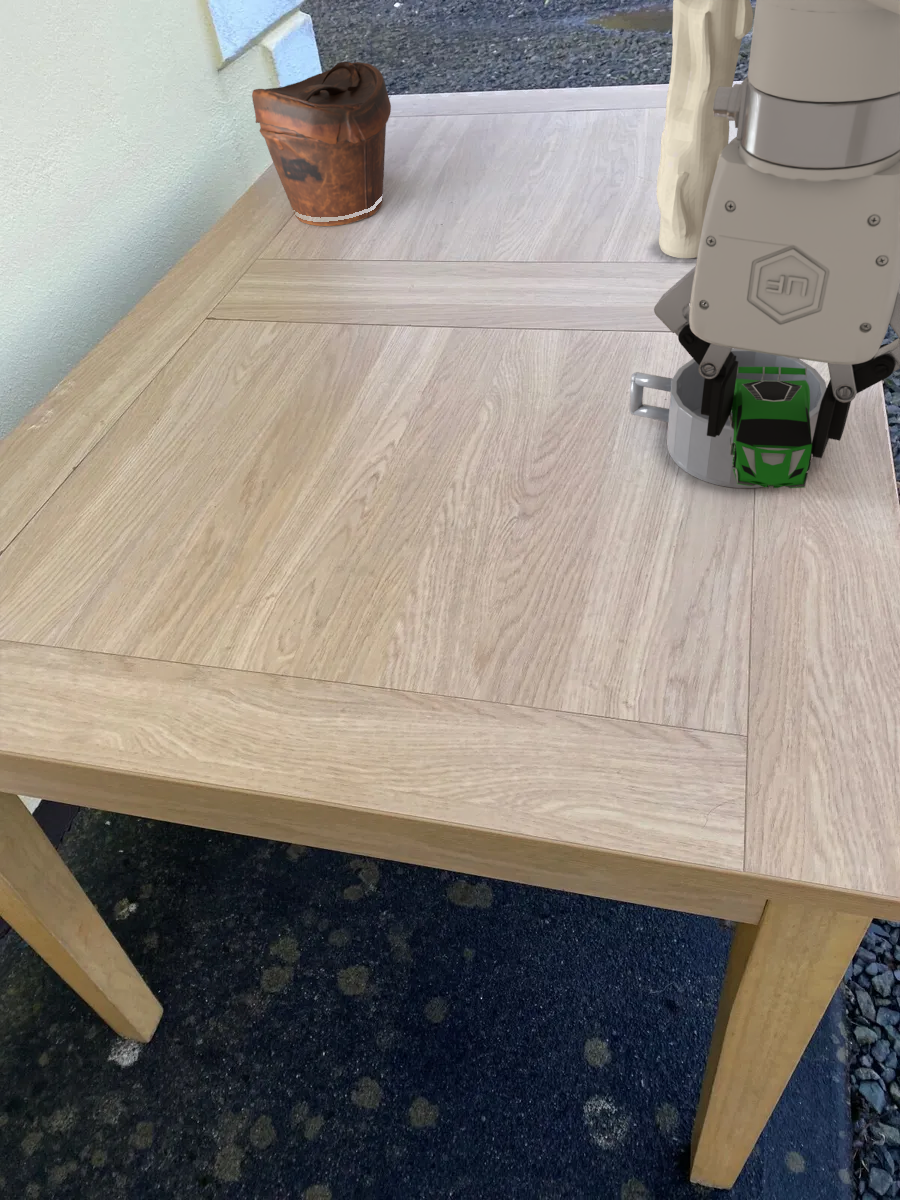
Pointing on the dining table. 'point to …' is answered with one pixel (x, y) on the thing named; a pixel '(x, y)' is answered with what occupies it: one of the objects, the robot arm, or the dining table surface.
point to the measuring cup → (690, 426)
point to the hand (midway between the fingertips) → (769, 431)
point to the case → (328, 140)
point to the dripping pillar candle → (696, 115)
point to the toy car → (771, 429)
